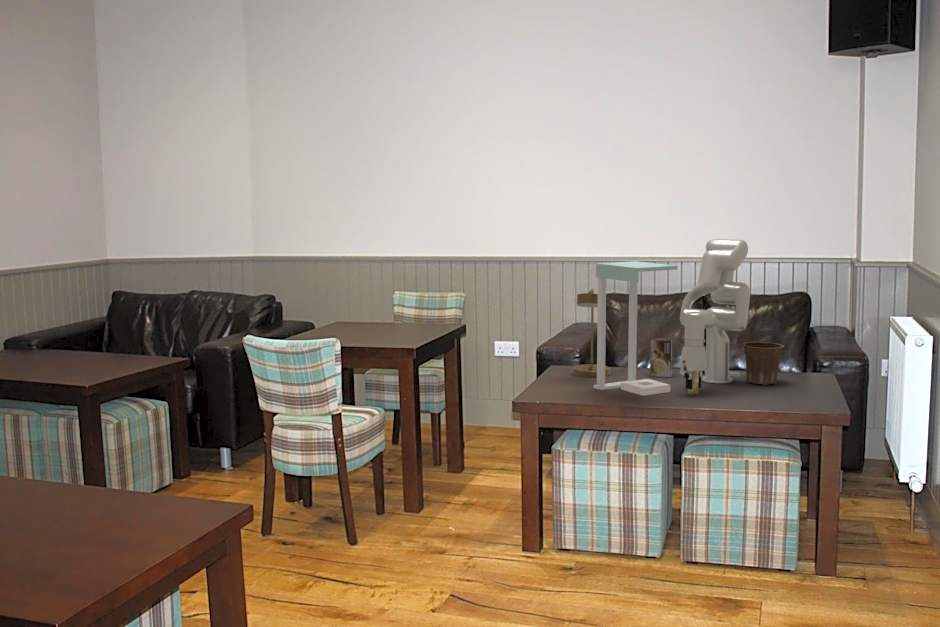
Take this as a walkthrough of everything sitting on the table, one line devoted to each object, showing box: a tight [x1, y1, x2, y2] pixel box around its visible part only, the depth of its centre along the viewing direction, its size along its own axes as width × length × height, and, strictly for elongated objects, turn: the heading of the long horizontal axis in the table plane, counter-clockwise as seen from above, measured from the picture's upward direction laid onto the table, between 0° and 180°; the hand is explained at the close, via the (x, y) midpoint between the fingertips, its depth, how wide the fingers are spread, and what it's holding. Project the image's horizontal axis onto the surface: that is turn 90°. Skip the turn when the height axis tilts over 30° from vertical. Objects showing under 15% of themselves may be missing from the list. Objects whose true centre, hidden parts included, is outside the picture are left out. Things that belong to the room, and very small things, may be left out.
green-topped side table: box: [592, 260, 678, 391], centre depth 389 cm, size 20×27×52 cm
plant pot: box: [742, 341, 784, 386], centre depth 407 cm, size 16×16×16 cm
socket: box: [620, 378, 671, 397], centre depth 394 cm, size 14×14×3 cm
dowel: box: [687, 371, 699, 395], centre depth 387 cm, size 4×4×10 cm
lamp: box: [571, 288, 611, 378], centre depth 423 cm, size 17×27×38 cm, turn 169°
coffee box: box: [649, 337, 673, 378], centre depth 424 cm, size 9×6×16 cm
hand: (693, 387), depth 388 cm, fingers closed on dowel, 4 cm apart
